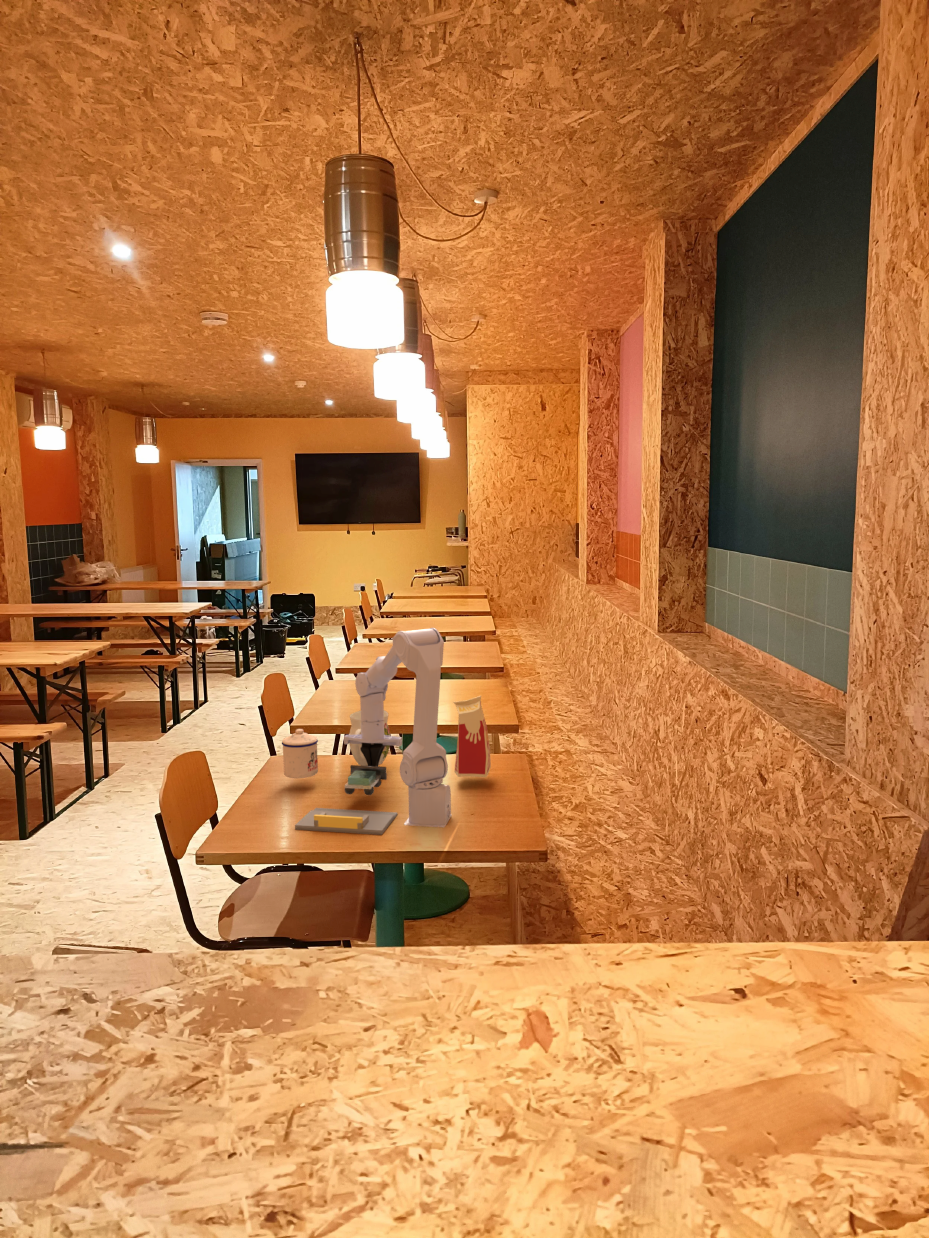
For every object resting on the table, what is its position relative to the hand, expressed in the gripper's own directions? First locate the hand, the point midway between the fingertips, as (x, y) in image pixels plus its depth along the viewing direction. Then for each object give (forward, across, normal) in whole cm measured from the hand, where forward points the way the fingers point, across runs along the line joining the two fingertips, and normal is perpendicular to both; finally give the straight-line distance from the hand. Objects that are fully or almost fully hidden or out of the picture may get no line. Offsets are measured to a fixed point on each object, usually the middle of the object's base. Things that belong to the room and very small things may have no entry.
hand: (373, 772), depth 200 cm
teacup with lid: (+2, +20, -3) cm, 21 cm away
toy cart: (+2, 0, +9) cm, 9 cm away
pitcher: (+2, +5, -13) cm, 14 cm away
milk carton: (+2, -23, -10) cm, 25 cm away
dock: (+5, 0, +20) cm, 21 cm away
